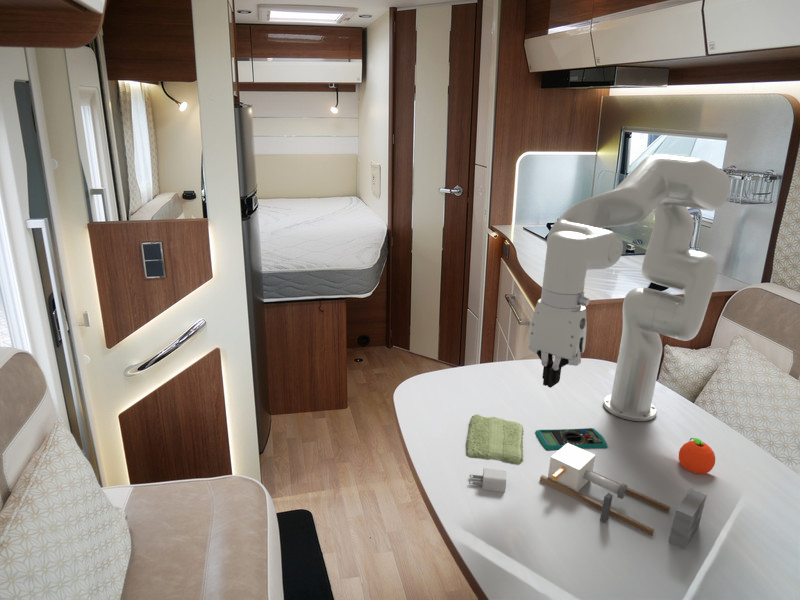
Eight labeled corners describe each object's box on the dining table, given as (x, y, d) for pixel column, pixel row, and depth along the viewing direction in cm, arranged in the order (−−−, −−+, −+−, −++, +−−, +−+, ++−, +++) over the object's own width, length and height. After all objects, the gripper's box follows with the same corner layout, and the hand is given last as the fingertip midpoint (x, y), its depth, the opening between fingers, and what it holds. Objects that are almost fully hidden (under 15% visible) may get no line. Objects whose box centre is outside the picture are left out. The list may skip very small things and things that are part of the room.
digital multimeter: (609, 455, 130) (611, 443, 129) (544, 457, 128) (545, 446, 127) (594, 437, 137) (596, 425, 136) (532, 439, 135) (534, 427, 134)
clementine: (668, 458, 129) (675, 429, 127) (700, 460, 129) (707, 431, 127) (683, 480, 122) (690, 450, 119) (717, 482, 121) (725, 453, 119)
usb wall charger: (504, 498, 114) (506, 481, 113) (468, 494, 115) (469, 476, 113) (503, 485, 118) (505, 468, 116) (468, 481, 119) (470, 464, 117)
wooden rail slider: (553, 459, 127) (558, 426, 124) (701, 528, 108) (711, 490, 106) (519, 488, 117) (523, 453, 114) (675, 569, 98) (685, 529, 96)
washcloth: (523, 429, 139) (525, 417, 138) (524, 473, 123) (525, 460, 121) (468, 421, 141) (469, 409, 140) (461, 464, 125) (462, 451, 124)
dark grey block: (603, 516, 108) (608, 492, 106) (608, 518, 107) (612, 494, 106) (599, 520, 107) (604, 496, 105) (604, 522, 106) (609, 498, 105)
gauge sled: (563, 465, 122) (567, 442, 121) (629, 495, 114) (633, 471, 112) (536, 489, 114) (540, 465, 113) (604, 524, 106) (609, 498, 104)
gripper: (608, 302, 110) (594, 390, 116) (536, 284, 119) (527, 366, 125) (590, 312, 104) (576, 404, 111) (516, 292, 114) (507, 378, 120)
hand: (550, 384), depth 118 cm, fingers closed
